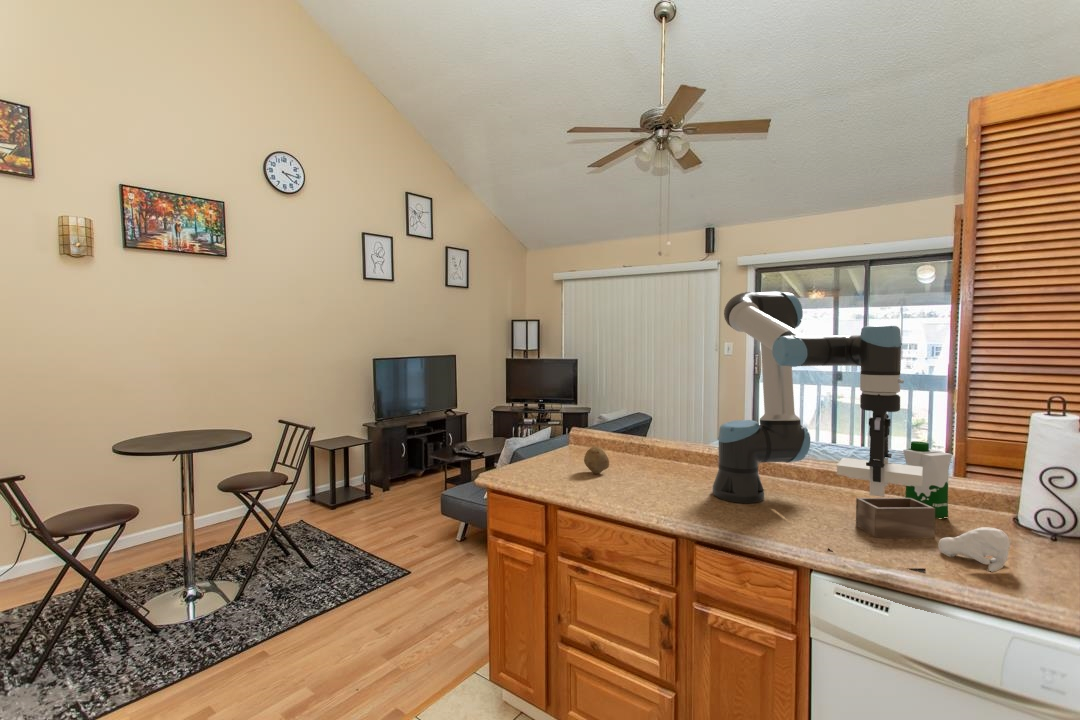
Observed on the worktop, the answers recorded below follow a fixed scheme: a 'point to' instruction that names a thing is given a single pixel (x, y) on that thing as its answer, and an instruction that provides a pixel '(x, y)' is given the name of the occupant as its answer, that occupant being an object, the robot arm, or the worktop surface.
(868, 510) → the storage box
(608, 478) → the worktop surface
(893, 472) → the lid
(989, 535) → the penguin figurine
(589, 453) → the brown oval lump
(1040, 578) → the worktop surface
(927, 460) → the milk carton
